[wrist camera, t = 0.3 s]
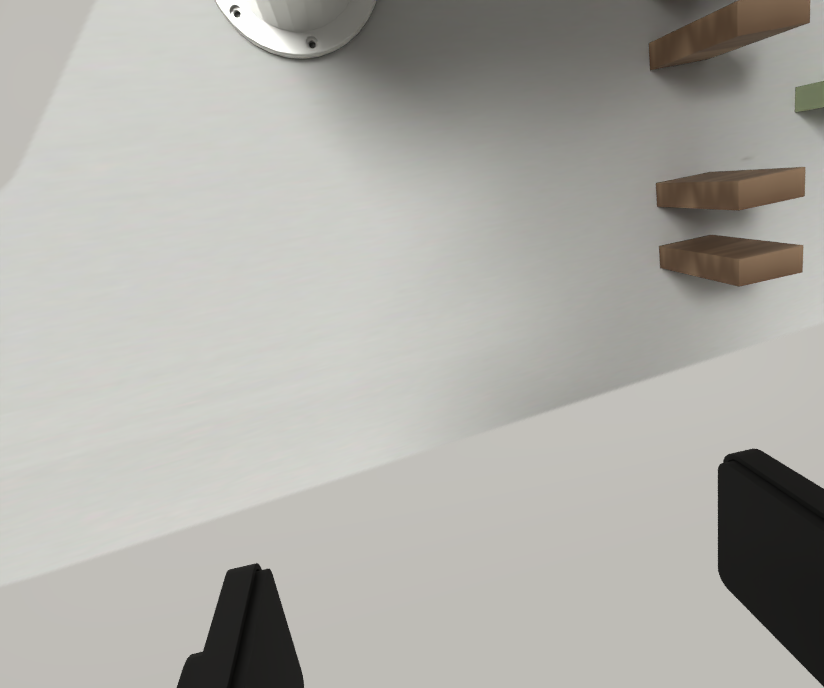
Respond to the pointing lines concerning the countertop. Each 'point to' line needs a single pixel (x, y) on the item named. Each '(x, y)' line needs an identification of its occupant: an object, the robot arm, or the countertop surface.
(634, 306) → the countertop surface
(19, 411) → the countertop surface
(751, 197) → the domino
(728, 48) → the domino
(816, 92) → the olive domino
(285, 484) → the countertop surface
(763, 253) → the domino
